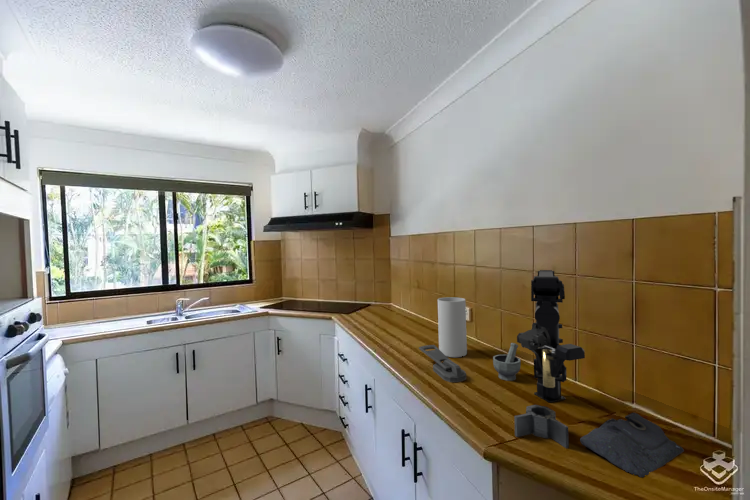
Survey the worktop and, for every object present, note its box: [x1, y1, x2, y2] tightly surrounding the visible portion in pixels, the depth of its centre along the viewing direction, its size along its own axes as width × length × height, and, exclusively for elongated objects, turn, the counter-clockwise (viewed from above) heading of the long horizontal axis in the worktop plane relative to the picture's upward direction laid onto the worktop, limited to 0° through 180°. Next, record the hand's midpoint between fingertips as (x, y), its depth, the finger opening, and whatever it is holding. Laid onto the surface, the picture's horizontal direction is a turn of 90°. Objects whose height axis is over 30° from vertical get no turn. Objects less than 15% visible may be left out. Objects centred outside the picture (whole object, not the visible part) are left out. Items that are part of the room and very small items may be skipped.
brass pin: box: [542, 349, 555, 388], centre depth 91 cm, size 3×3×10 cm
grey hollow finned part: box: [513, 404, 570, 449], centre depth 82 cm, size 11×11×5 cm
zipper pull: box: [418, 344, 467, 383], centre depth 128 cm, size 9×7×25 cm
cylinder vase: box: [437, 296, 468, 358], centre depth 148 cm, size 12×12×25 cm
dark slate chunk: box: [579, 412, 685, 478], centre depth 77 cm, size 15×22×5 cm
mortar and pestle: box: [492, 342, 522, 382], centre depth 120 cm, size 11×9×12 cm
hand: (548, 374), depth 91 cm, fingers closed on brass pin, 3 cm apart
